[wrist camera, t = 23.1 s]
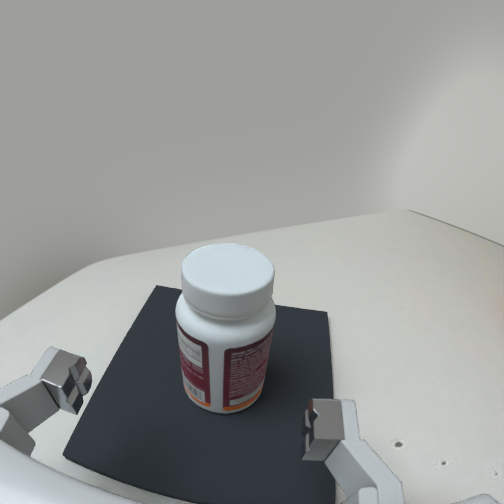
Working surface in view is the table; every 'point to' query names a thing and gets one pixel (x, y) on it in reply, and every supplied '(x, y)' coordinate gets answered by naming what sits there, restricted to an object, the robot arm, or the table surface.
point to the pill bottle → (225, 325)
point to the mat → (208, 417)
